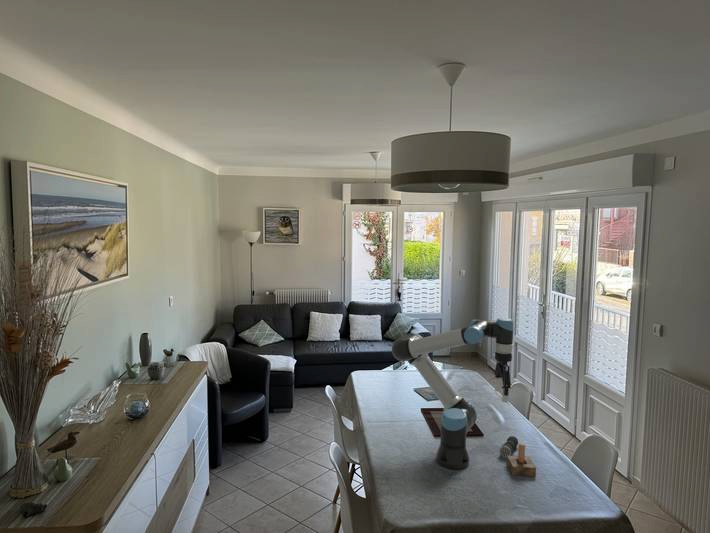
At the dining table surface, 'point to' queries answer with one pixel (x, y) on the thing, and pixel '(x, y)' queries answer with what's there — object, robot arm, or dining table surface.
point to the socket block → (521, 466)
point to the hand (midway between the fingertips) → (501, 396)
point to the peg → (521, 453)
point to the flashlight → (508, 446)
